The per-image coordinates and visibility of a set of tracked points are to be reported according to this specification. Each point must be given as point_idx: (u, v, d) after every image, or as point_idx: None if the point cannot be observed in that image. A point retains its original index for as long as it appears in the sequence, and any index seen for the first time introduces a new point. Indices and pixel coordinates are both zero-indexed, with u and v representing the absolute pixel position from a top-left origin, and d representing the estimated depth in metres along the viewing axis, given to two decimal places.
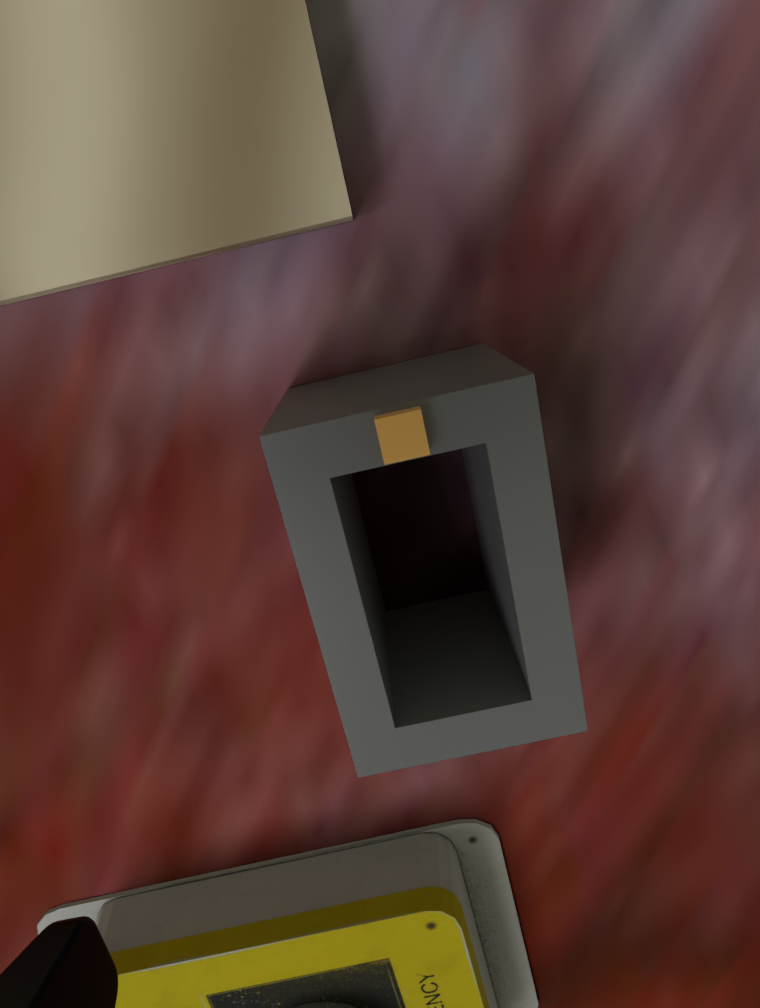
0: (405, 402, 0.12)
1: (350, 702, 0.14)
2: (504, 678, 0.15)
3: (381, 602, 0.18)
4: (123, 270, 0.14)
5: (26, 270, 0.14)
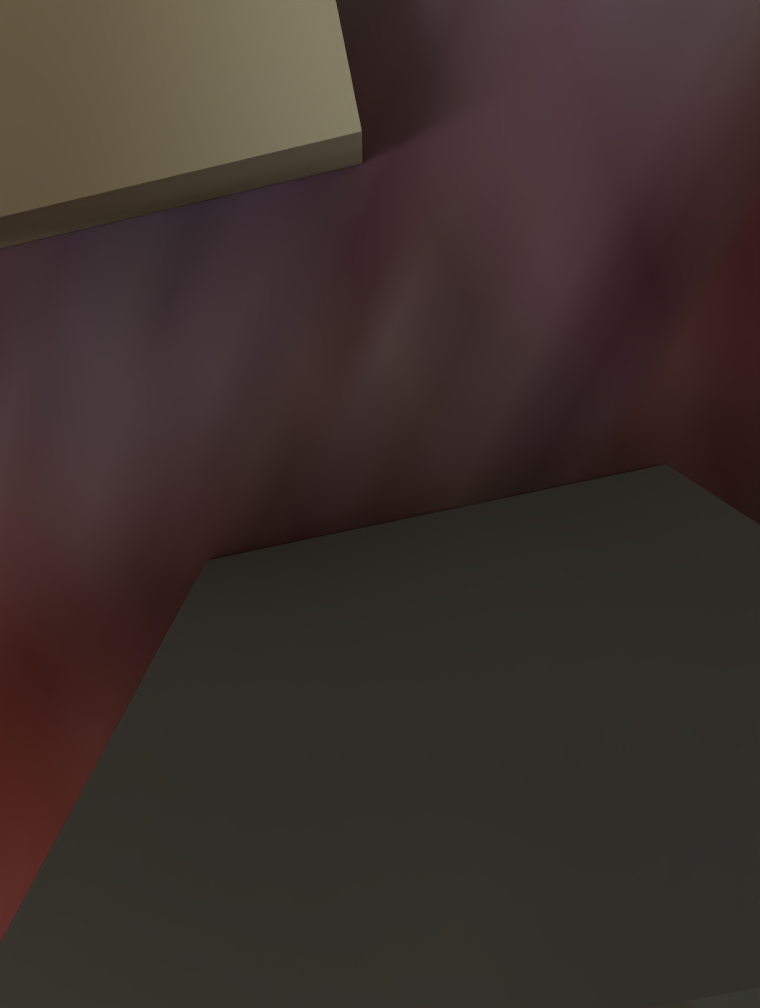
0: (621, 991, 0.02)
1: None
2: None
3: None
4: None
5: None
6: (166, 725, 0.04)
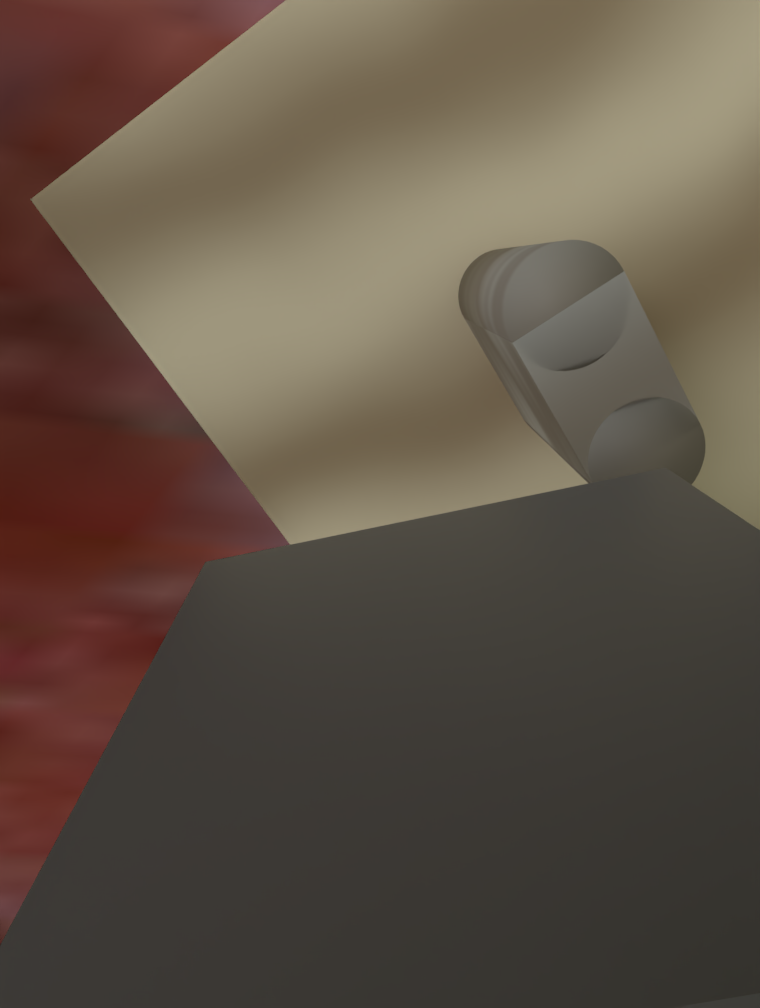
0: (618, 996, 0.02)
1: None
2: None
3: None
4: None
5: None
6: (165, 727, 0.04)
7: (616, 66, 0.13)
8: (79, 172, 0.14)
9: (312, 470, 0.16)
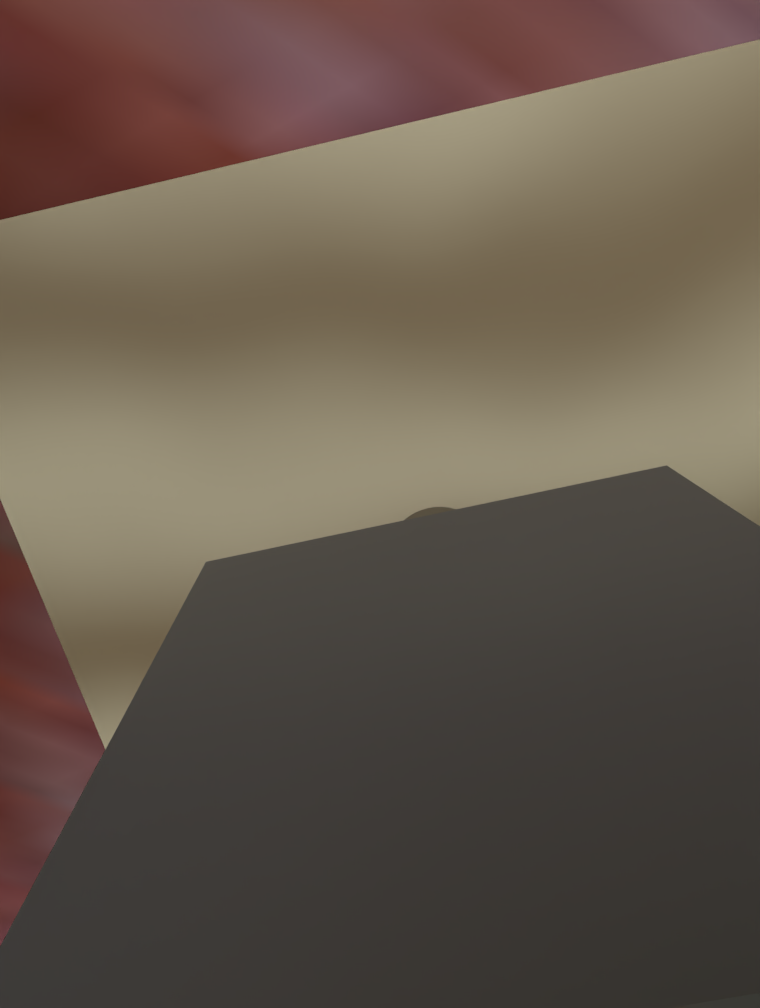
0: (621, 995, 0.02)
1: None
2: None
3: None
4: None
5: None
6: (166, 727, 0.04)
7: (650, 370, 0.11)
8: None
9: None
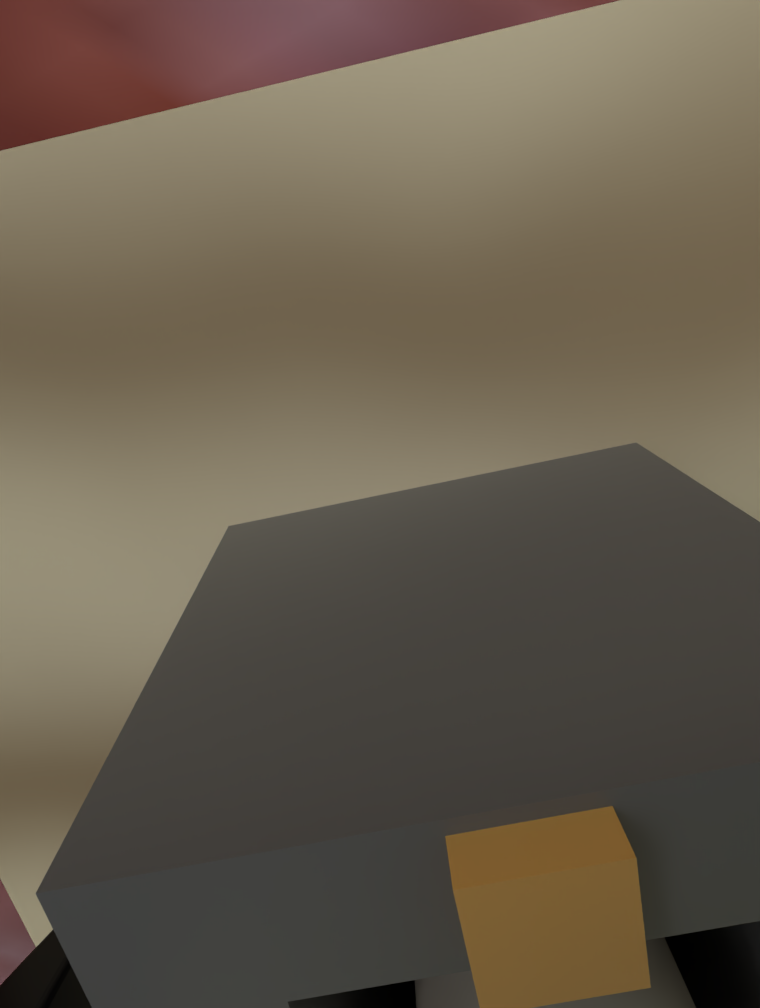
0: (560, 788, 0.03)
1: None
2: None
3: None
4: None
5: None
6: (206, 645, 0.05)
7: None
8: None
9: (75, 804, 0.09)
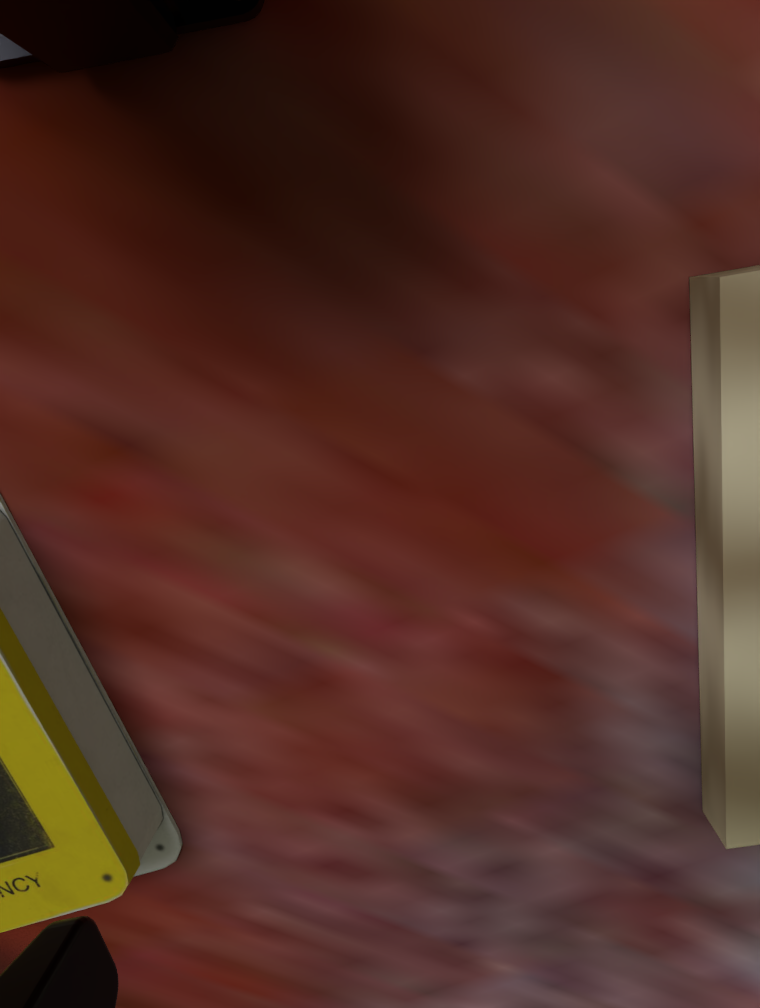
0: None
1: None
2: None
3: None
4: (724, 707, 0.18)
5: (741, 642, 0.18)
6: None
7: None
8: None
9: None
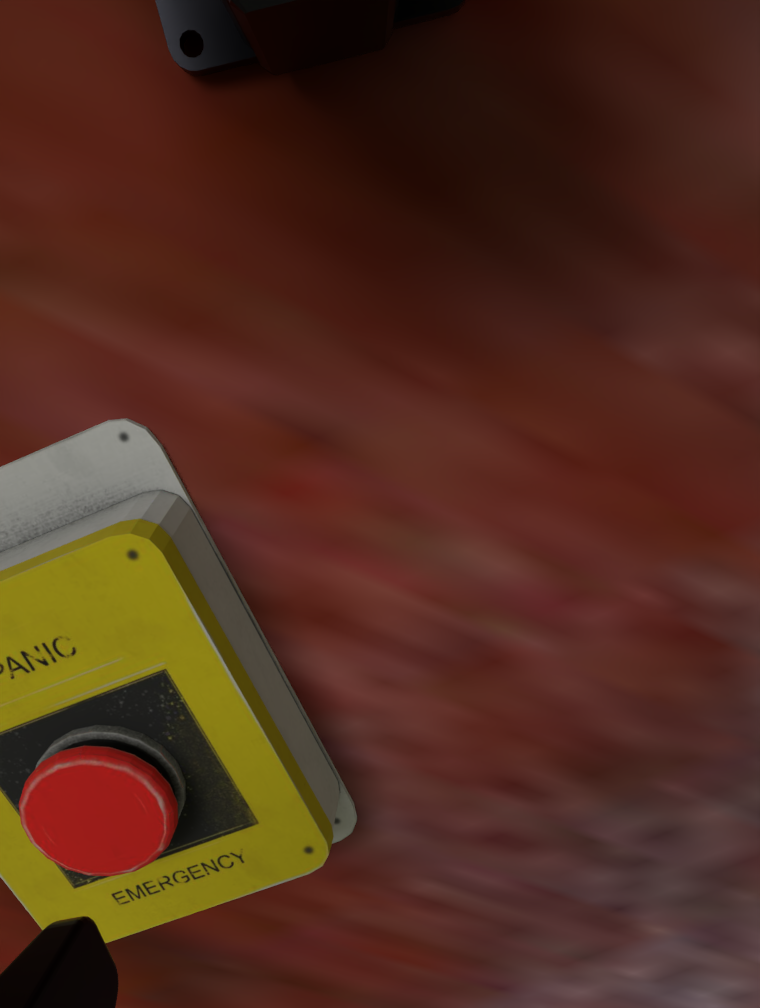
0: None
1: None
2: None
3: None
4: None
5: None
6: None
7: None
8: None
9: None
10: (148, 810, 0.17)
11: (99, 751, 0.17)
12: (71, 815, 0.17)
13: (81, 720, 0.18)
